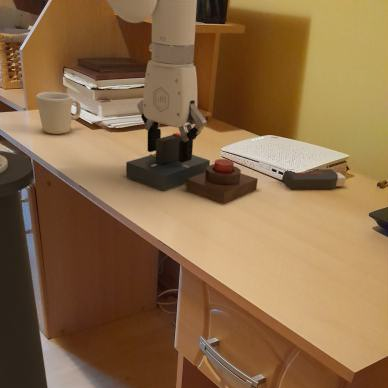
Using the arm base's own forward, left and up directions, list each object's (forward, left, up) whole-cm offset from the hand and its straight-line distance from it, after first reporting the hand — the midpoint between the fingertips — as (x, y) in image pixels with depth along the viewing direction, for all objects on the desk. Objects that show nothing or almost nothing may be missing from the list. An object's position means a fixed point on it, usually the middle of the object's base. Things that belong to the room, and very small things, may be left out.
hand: (169, 155), depth 102 cm
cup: (+4, +38, -4) cm, 38 cm away
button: (+2, -12, 0) cm, 12 cm away
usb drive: (+19, -23, -4) cm, 30 cm away
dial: (0, 0, -1) cm, 1 cm away
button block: (+2, -12, -4) cm, 13 cm away
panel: (0, 0, -4) cm, 4 cm away
